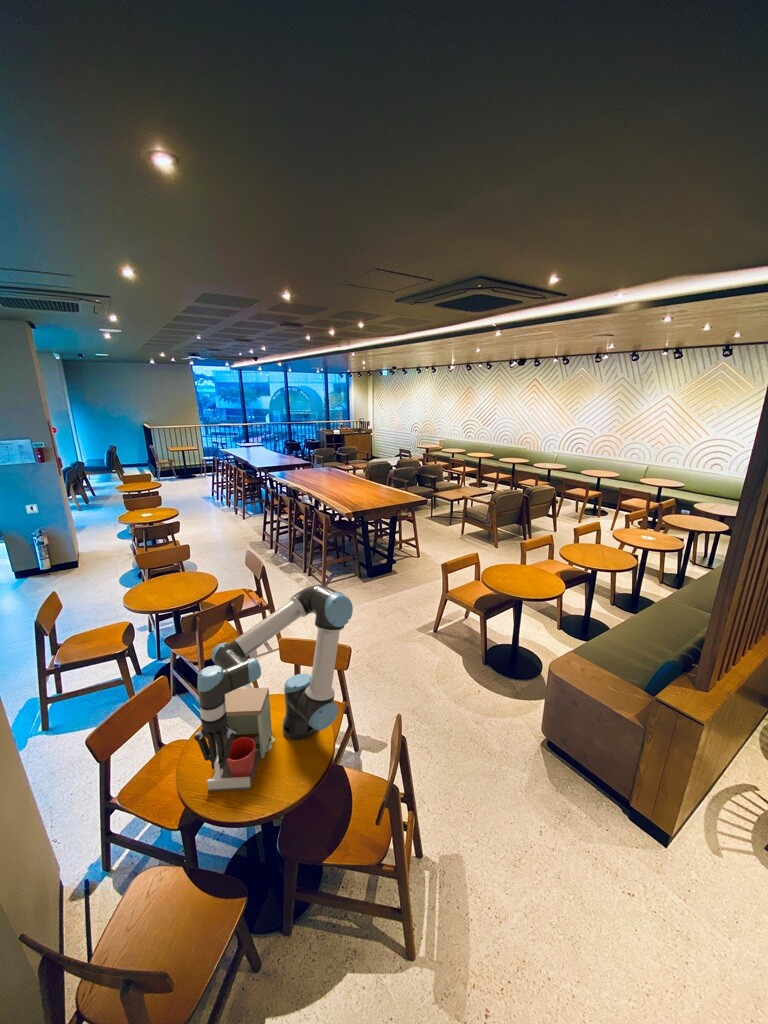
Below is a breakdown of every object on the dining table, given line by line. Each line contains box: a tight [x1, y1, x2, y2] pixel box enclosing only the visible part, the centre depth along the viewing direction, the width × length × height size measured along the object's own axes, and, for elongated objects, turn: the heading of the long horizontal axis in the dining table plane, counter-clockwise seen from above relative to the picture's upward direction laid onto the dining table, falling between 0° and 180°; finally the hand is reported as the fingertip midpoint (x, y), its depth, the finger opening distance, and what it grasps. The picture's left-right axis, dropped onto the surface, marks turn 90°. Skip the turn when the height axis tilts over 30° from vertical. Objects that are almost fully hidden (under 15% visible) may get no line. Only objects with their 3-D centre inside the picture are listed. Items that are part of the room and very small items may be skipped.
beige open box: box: [216, 687, 273, 759], centre depth 158 cm, size 18×14×21 cm
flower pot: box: [224, 736, 256, 778], centre depth 146 cm, size 11×11×10 cm
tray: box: [206, 750, 261, 792], centre depth 147 cm, size 15×14×4 cm
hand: (219, 775), depth 131 cm, fingers closed
